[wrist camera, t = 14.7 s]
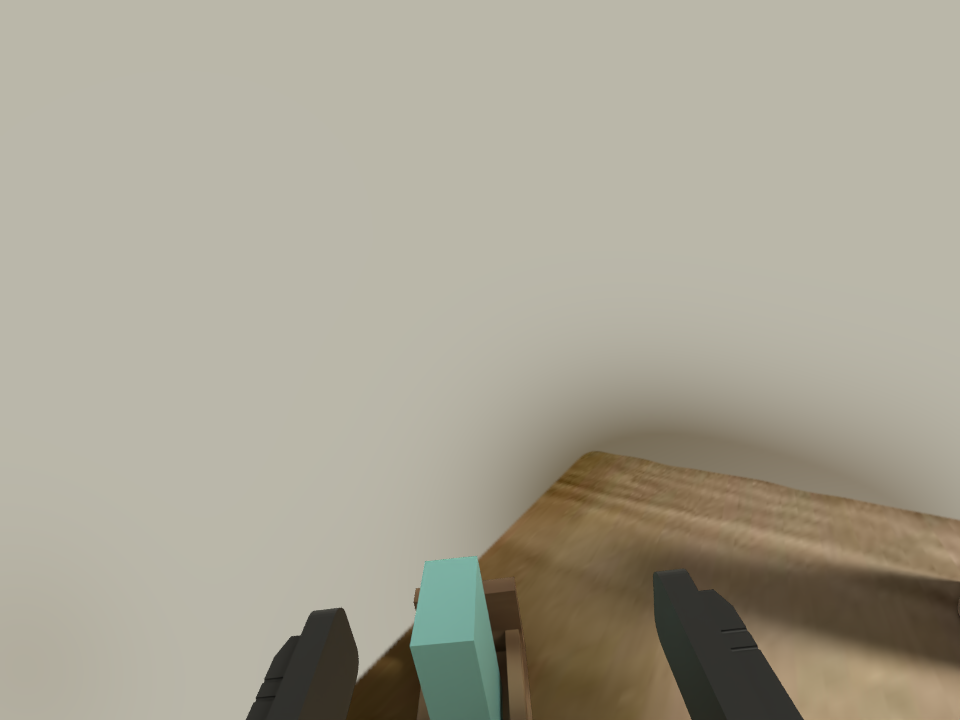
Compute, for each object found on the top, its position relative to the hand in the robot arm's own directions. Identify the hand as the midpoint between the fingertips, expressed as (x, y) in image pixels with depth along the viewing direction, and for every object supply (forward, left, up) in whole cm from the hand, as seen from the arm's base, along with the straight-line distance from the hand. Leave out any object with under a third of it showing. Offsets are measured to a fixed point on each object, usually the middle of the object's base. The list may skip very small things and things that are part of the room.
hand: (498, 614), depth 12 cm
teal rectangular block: (-8, -14, -29) cm, 33 cm away
